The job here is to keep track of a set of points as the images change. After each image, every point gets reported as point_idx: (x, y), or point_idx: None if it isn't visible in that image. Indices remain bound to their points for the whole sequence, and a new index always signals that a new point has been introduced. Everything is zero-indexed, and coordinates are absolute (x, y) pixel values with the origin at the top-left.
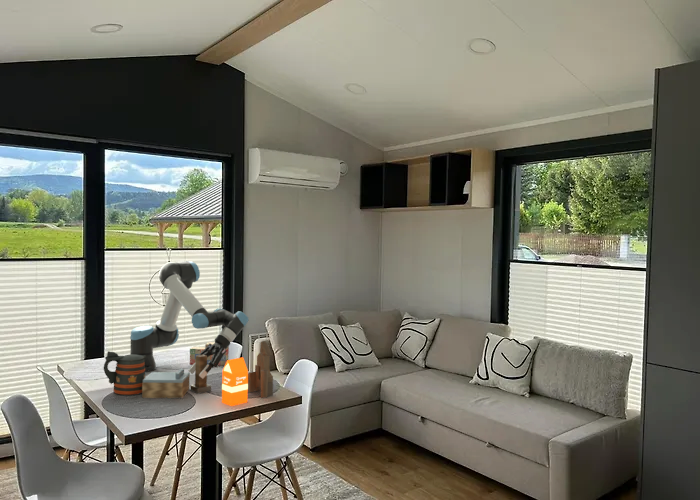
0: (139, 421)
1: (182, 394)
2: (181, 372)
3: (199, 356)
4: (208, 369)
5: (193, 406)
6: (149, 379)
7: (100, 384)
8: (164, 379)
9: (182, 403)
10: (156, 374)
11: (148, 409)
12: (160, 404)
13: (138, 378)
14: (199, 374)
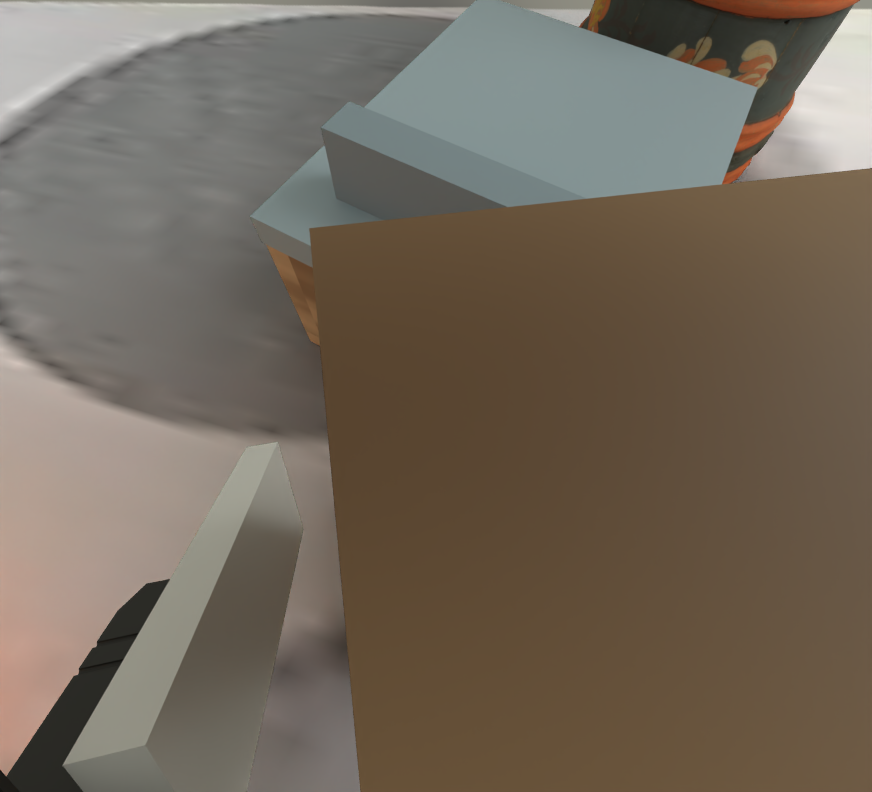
0: (36, 65)
1: (318, 334)
2: (464, 211)
3: (535, 281)
4: (100, 676)
5: (19, 353)
6: (468, 23)
7: (829, 62)
8: (399, 97)
9: (165, 306)
10: (644, 93)
11: (203, 128)
12: (253, 193)
13: (614, 24)
14: (269, 452)
